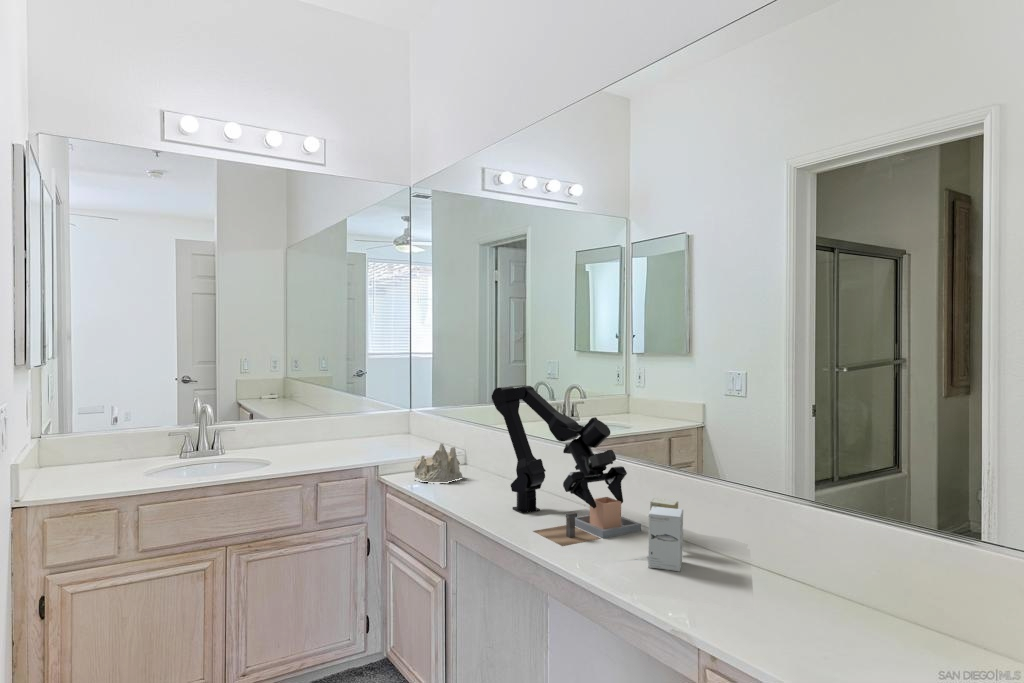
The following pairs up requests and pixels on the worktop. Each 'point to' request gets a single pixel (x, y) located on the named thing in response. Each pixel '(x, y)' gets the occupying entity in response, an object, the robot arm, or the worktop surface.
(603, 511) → the terracotta collar
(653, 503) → the skincare box
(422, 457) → the miniature mountain rock
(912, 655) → the worktop surface
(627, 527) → the charcoal tray
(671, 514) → the supplement box
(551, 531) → the walnut base
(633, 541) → the worktop surface
